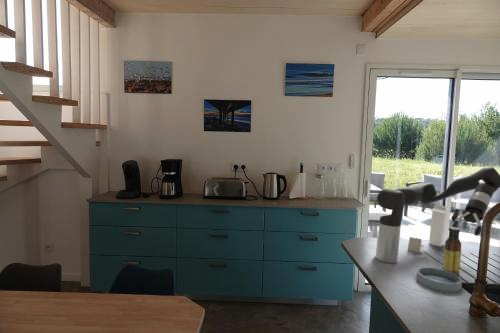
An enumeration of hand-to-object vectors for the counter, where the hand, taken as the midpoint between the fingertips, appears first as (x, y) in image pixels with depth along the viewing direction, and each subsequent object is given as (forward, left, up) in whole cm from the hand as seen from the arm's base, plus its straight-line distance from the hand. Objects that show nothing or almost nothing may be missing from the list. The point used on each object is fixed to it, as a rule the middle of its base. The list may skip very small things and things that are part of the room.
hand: (464, 231), depth 148 cm
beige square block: (-24, -7, -18) cm, 31 cm away
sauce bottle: (+3, -7, -18) cm, 19 cm away
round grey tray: (+13, -20, -18) cm, 29 cm away
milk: (-35, +13, -18) cm, 42 cm away
